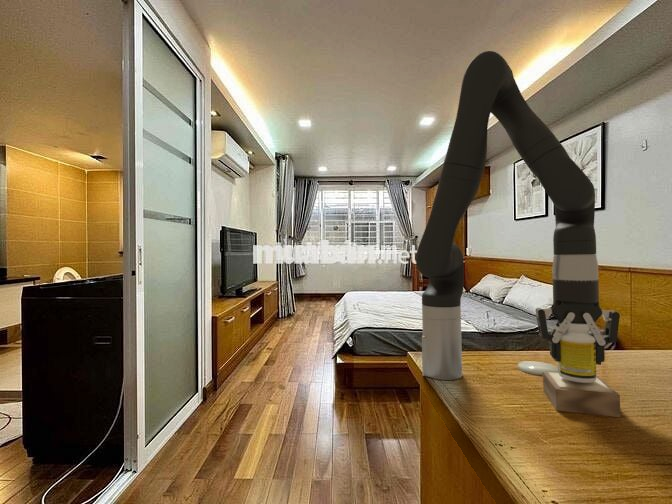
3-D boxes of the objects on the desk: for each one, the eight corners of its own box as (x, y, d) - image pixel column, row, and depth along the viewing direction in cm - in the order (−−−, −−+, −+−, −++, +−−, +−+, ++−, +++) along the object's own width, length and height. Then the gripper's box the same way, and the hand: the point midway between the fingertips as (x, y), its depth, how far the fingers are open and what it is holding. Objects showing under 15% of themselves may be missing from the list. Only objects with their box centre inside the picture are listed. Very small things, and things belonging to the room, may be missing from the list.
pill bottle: (603, 384, 65) (602, 325, 65) (566, 383, 66) (565, 325, 67) (586, 373, 71) (585, 319, 71) (553, 372, 73) (552, 319, 73)
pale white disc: (521, 373, 86) (521, 370, 86) (515, 362, 94) (515, 360, 94) (563, 377, 83) (563, 373, 83) (553, 365, 92) (553, 362, 92)
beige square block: (556, 410, 66) (555, 387, 66) (543, 390, 75) (542, 370, 75) (620, 417, 62) (619, 393, 63) (598, 395, 72) (597, 375, 72)
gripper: (538, 278, 68) (539, 364, 68) (627, 279, 63) (630, 371, 63) (530, 276, 75) (531, 354, 75) (610, 276, 70) (612, 359, 70)
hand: (576, 361), depth 69 cm, fingers closed on pill bottle, 6 cm apart
